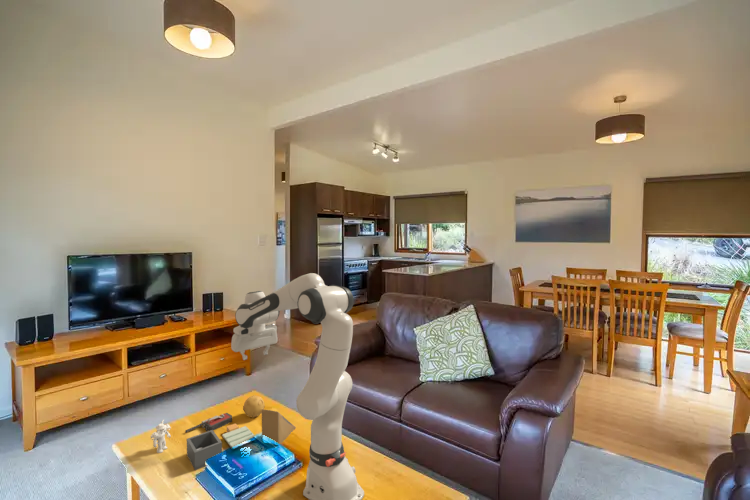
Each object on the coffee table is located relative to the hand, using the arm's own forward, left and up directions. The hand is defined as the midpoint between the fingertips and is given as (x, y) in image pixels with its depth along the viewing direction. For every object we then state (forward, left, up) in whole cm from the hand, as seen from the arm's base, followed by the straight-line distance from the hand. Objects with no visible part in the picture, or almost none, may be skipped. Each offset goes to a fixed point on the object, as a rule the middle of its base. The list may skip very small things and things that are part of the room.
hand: (255, 357), depth 157 cm
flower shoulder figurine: (+14, +35, -35) cm, 52 cm away
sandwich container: (-8, -8, -36) cm, 37 cm away
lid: (+1, +8, -35) cm, 36 cm away
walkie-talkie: (+19, +14, -36) cm, 43 cm away
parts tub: (-3, +23, -35) cm, 42 cm away
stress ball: (+15, -5, -35) cm, 39 cm away
